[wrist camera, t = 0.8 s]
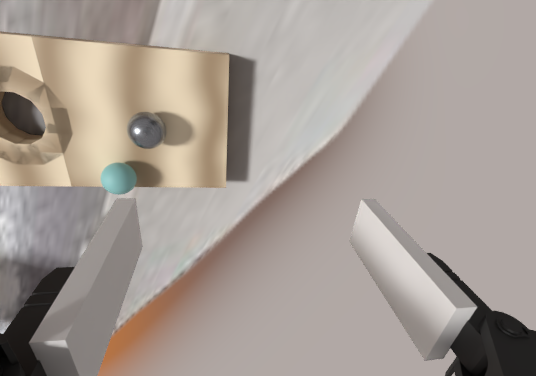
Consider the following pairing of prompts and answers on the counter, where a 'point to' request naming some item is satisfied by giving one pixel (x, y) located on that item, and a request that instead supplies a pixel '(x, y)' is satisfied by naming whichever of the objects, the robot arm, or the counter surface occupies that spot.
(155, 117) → the steel ball
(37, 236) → the counter surface
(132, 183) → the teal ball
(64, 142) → the maple board
